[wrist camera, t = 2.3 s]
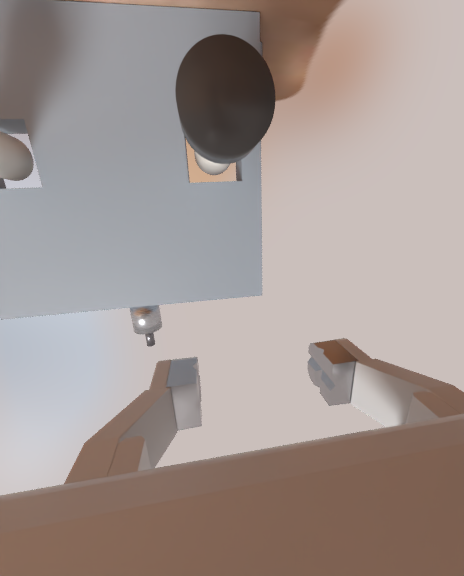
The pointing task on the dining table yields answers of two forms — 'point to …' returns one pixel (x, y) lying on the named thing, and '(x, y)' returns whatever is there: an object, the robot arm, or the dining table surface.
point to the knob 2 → (223, 100)
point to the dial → (146, 321)
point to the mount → (116, 164)
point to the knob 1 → (14, 158)
